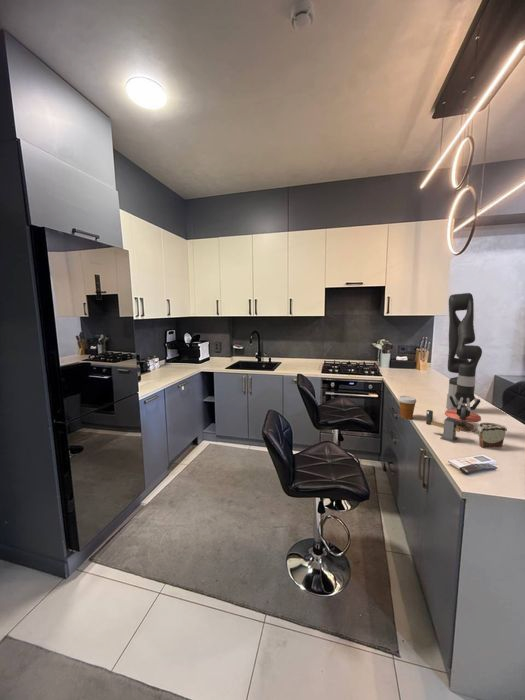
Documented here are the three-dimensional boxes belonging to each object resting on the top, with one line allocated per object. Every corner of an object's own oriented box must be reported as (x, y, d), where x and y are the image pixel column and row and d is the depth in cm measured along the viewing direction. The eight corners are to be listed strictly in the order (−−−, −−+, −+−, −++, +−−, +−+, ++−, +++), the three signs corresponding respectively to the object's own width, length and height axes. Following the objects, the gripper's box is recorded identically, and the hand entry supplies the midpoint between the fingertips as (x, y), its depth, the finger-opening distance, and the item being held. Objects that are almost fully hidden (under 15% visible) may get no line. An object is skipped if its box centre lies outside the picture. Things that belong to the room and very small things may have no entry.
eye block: (440, 438, 143) (441, 419, 142) (444, 434, 147) (445, 416, 146) (454, 442, 139) (455, 423, 137) (458, 438, 143) (459, 419, 142)
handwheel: (445, 416, 167) (446, 396, 165) (479, 421, 158) (481, 400, 156) (443, 426, 154) (445, 404, 152) (481, 432, 145) (483, 409, 143)
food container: (494, 441, 140) (496, 421, 138) (505, 447, 134) (507, 426, 132) (469, 442, 139) (471, 422, 138) (479, 448, 133) (481, 427, 132)
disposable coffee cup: (394, 415, 174) (394, 396, 173) (406, 413, 178) (407, 394, 176) (406, 421, 166) (407, 401, 164) (419, 418, 169) (420, 399, 167)
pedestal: (464, 422, 162) (464, 420, 162) (479, 430, 151) (479, 428, 151) (445, 423, 162) (445, 420, 162) (459, 431, 151) (459, 428, 151)
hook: (425, 423, 149) (425, 411, 148) (426, 422, 151) (427, 409, 150) (458, 432, 138) (459, 418, 137) (460, 430, 140) (461, 417, 139)
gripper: (449, 384, 147) (447, 416, 150) (484, 387, 140) (480, 421, 143) (449, 380, 154) (446, 411, 156) (481, 383, 147) (478, 416, 149)
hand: (462, 415), depth 149 cm, fingers closed on handwheel, 3 cm apart
